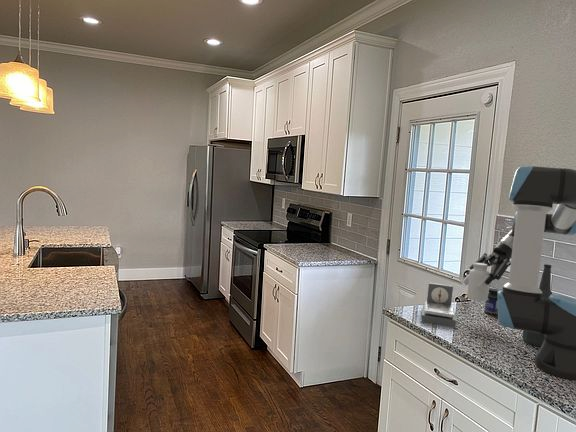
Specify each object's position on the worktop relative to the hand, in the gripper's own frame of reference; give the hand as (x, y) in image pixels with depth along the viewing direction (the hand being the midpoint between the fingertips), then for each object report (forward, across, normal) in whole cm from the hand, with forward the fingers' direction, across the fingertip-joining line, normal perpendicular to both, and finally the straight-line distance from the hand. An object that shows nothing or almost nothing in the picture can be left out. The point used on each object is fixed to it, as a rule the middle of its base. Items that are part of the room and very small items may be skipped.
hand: (471, 285), depth 181 cm
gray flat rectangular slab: (+16, +5, -1) cm, 17 cm away
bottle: (+3, -24, -20) cm, 31 cm away
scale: (+18, +6, -4) cm, 20 cm away
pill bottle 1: (+2, 0, -7) cm, 7 cm away
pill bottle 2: (-4, +10, -27) cm, 29 cm away
